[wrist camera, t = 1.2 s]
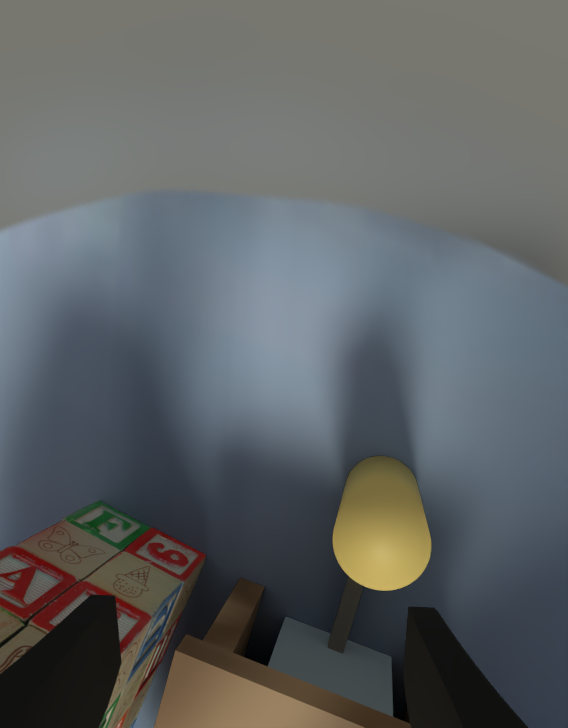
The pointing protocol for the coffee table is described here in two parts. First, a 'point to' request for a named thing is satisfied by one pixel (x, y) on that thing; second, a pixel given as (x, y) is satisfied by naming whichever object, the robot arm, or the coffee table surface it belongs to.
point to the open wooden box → (249, 683)
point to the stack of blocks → (99, 592)
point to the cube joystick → (362, 582)
